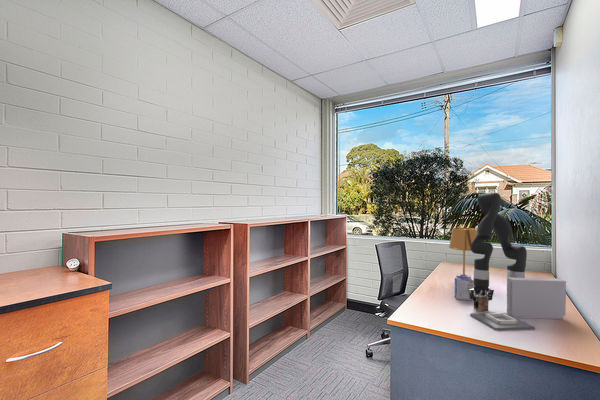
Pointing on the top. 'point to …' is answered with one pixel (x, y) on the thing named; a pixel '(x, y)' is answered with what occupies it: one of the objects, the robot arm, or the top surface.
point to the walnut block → (482, 304)
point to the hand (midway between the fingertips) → (480, 307)
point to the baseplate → (502, 321)
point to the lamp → (462, 243)
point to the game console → (536, 297)
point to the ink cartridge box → (463, 287)
